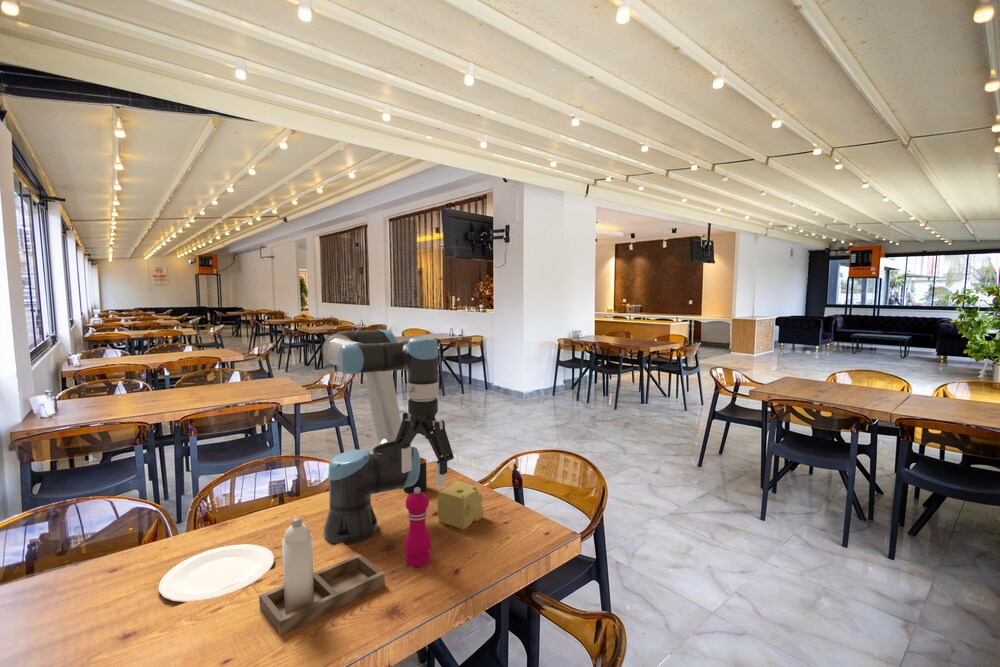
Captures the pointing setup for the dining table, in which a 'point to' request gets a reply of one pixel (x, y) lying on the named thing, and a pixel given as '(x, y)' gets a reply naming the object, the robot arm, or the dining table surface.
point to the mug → (419, 479)
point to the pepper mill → (417, 530)
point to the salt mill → (297, 567)
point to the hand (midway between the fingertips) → (423, 478)
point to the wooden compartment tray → (324, 593)
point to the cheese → (460, 505)
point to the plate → (216, 572)
